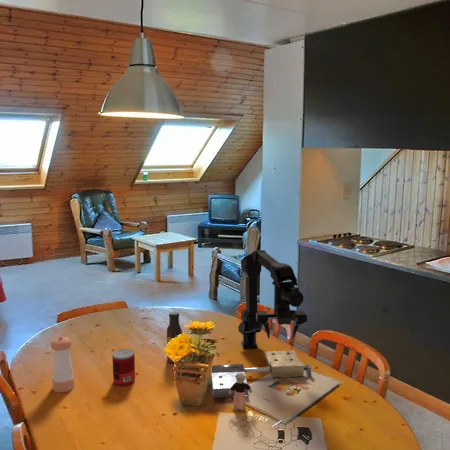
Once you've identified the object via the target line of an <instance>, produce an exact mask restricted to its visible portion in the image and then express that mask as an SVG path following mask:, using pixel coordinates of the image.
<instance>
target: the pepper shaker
mask: <svg viewBox="0 0 450 450" xmlns="http://www.w3.org/2000/svg"><path fill="white" fill-rule="evenodd" d="M72 344H73V343H72V340H71V339H70V337H66V336H65V337H64V336H62V335H61V336H59V337H57V338H54V339H53V340H52V341H51V343H50V348H51V349H52V350H53V365H52V376H53V378H52V391H54V392H55V393H66V392H70V391H72V390H73V389H74V388H75V377H74V374H73V372H74V371H73V364H72V360H71V350H70V348H71V346H72Z"/></svg>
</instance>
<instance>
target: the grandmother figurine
mask: <svg viewBox="0 0 450 450" xmlns="http://www.w3.org/2000/svg"><path fill="white" fill-rule="evenodd" d="M245 378H246V374H245V375H244V374H243V373H241V372H240V373H237V374H236V380H237V382H236V383H234V385H233V386H232V387H231V388H230V390H229V392H228V394H229V395H230V394H231V393H232V391H233V390H235V393H234V397H233V407H232V408H231V410H232V412H238V411H239V410H240V411H241V412H243V411H246V410H247V408H246V407H245V406H246V396H245V389H247V390H248V394H249V393H250V394H252V393H253V390H252V387H251V385H249V384H248V383H247V384H246V383H244V380H245ZM246 379H247V378H246Z"/></svg>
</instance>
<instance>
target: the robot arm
mask: <svg viewBox="0 0 450 450" xmlns="http://www.w3.org/2000/svg"><path fill="white" fill-rule="evenodd" d="M240 266H241V271H242V273H243V275H244V276H245V311H244V312H243V314H242V318H241V322H240V324H239V325H238V327H237V328H238V332H239V333H240V334H241V335H242V341H241V342H240V343H241V347H242V349H258V348H259V347H258V346H259V345H258V343H257V333H261V332H262V327H264V328H265V332H266V336H267V339H268V340H269V339H270V336H271V335H270V327H269V326H270V324H269V323H270V322H269V320H276V321H277V324H278V325H281V326H282V325H287V326H288V325H291V324H292V327H291V328H292V329H291V337H292V339H294V338H295V336H296V333H297V331H298V329H299V327H300V326H301V325H304V324H305V323H308V314H307V313H306V312H305V310H295V309H293V310H292V309H291V308H290V306H292V307H293V308H294V307H295V308H298V307H300V306H301V305H302V304H303V301H304V298H305V297H304V295H303V293H302V292H301V291H300V287H297V286H298V280H297V277H296V275H295V272H294V269H293V267H292V266H291V265H290V264H287V263H282V262H279V261H278V260H277V259H275V258H273V256H272V255H270V254H268V253H267V251H266V250H264V249H260V250H253V251H252V252H251V253H250V254H247V255H246V256H244V257H243V258H242V259H241V261H240ZM262 267H263V268H264V269H266V270H267V271H268V272H269V273H270V275H269V276H270V277H271V279H272V282H271V284H272V285H273V286H274V288H273V291H274V292H273V295H274V296H273V313H268V312H267V310H258V277H259V276H260V274H261V272H262Z"/></svg>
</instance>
